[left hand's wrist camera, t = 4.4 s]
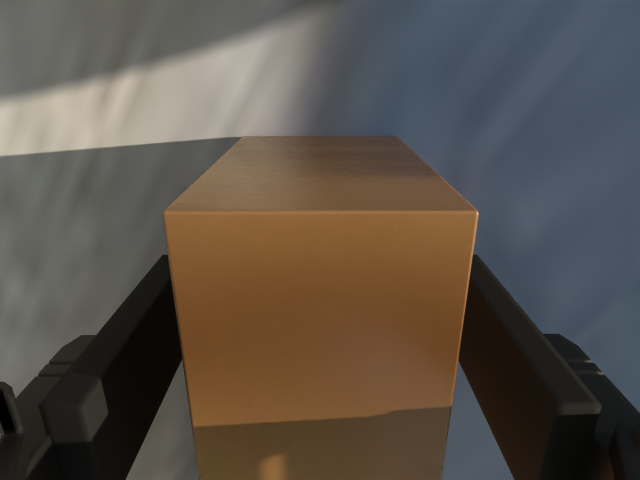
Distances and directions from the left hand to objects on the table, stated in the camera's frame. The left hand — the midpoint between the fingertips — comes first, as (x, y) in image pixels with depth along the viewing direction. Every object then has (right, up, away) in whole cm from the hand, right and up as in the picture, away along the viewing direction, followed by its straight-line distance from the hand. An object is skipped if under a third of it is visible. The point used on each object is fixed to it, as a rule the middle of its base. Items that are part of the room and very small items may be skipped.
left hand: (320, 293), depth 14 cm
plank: (0, -21, +10) cm, 24 cm away
